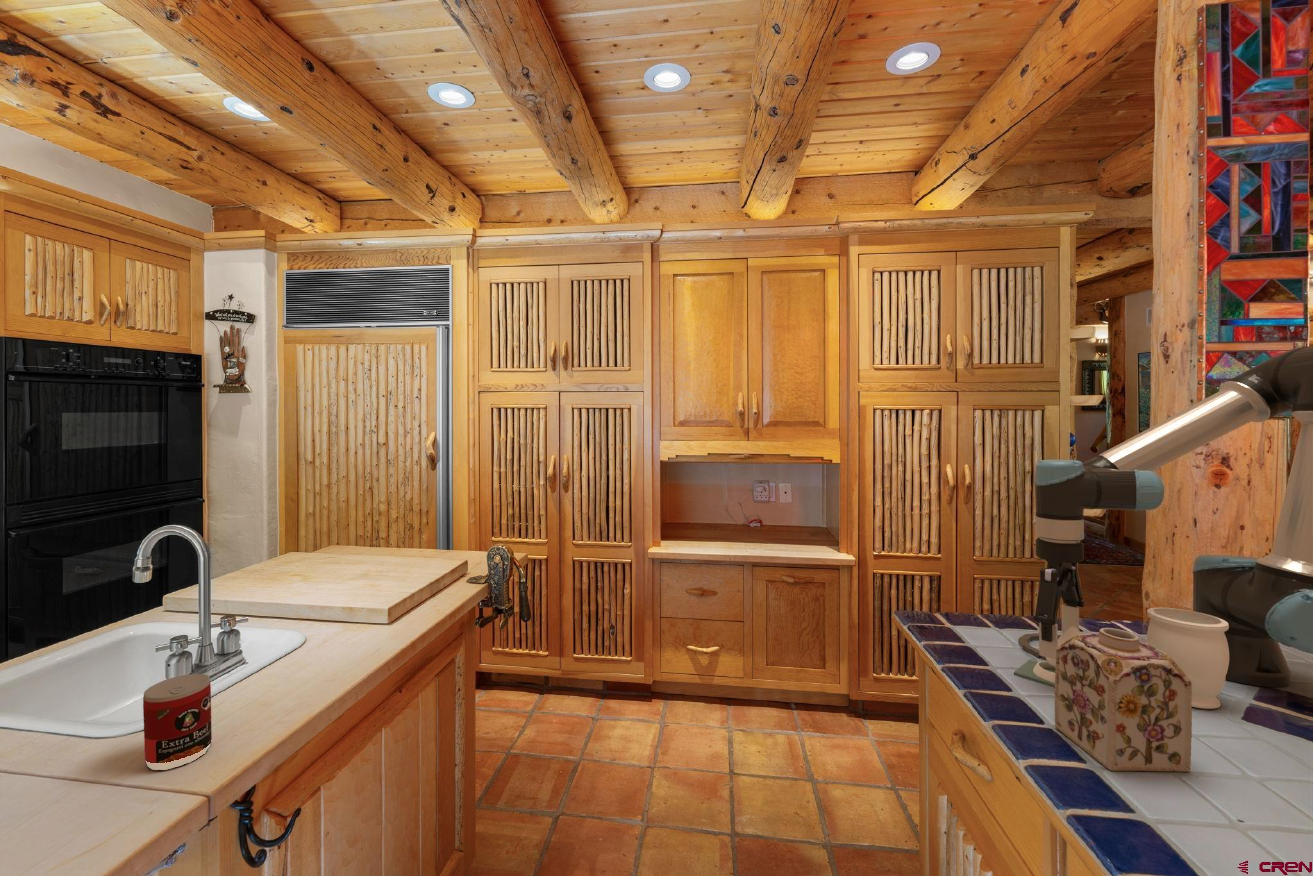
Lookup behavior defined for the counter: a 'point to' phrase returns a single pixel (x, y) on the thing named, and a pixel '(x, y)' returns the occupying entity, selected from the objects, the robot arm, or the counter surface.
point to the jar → (1193, 649)
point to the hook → (1050, 662)
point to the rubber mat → (1032, 673)
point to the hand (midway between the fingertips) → (1059, 647)
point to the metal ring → (1026, 646)
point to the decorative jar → (1124, 702)
